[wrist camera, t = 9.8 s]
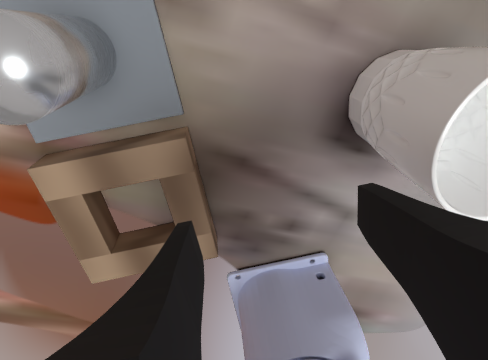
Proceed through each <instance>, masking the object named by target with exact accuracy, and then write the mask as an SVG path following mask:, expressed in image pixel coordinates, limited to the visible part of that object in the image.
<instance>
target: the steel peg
mask: <svg viewBox="0 0 488 360" xmlns="http://www.w3.org/2000/svg"><path fill="white" fill-rule="evenodd" d="M115 68H116V53H115V49H114V46H113V44H112V42H111V40H110V39H109V37H108V36H107V34H106V33H105V32H104V31H103V30H102V29H101V28H100V27H99V26H97V25H96V24H95V23H93V22H91V21H89V20H87V19H84V18H81V17H75V16H66V15H56V14H46V13H36V12H27V11H17V10H7V9H0V124H6V125H23V124H28V123H31V122H34V121H36V120H38V119H40V118H42V117H44V116H46V115H48V114H50V113H52V112H53V111H55V110H57V109H59V108H61V107H63V106H65V105H67V104H69V103H70V102H72V101H74V100H76V99H78V98H80V97H82V96H84V95H86V94H87V93H89V92H91V91H93V90H95V89H97V88H99V87H101V86H102V85H104V84H106V83H107V82H108V81H109V80H110V79H111V77H112V76H113V74H114V72H115Z"/></svg>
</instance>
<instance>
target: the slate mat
mask: <svg viewBox="0 0 488 360" xmlns="http://www.w3.org/2000/svg"><path fill="white" fill-rule="evenodd" d="M0 9H7V10H17V11H27V12H36V13H46V14H56V15H66V16H75V17H81V18H84V19H87V20H89V21H91V22H93V23H95V24H96V25H97V26H99V27H100V28H101V29H102V30H103V31H104V32H105V33H106V34H107V36H108V37H109V39H110V40H111V42H112V44H113V46H114V49H115V53H116V68H115V72H114V74H113V76H112V77H111V79H110V80H109V81H108V82H107V83H106V84H104V85H102V86H101V87H99V88H97V89H95V90H93V91H91V92H89V93H87V94H86V95H84V96H82V97H80V98H78V99H76V100H74V101H72V102H70V103H69V104H67V105H65V106H63V107H61V108H59V109H57V110H55V111H53V112H52V113H50V114H48V115H46V116H44V117H42V118H40V119H38V120H36V121H34V122H31V123H28V124H26V125H27V126H28V128H29V130H30V132H31V134H32V136H33V138H34V140H35V142H36V143H40V142H45V141H50V140H55V139H60V138H65V137H70V136H75V135H81V134H86V133H91V132H96V131H101V130H106V129H111V128H116V127H121V126H126V125H131V124H136V123H141V122H146V121H151V120H157V119H162V118H167V117H172V116H177V115H182V114H184V112H183V108H182V104H181V100H180V96H179V93H178V89H177V85H176V81H175V78H174V74H173V70H172V66H171V63H170V59H169V55H168V51H167V48H166V44H165V40H164V36H163V33H162V29H161V25H160V21H159V18H158V14H157V10H156V6H155V2H154V0H0Z"/></svg>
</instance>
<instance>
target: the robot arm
mask: <svg viewBox="0 0 488 360" xmlns="http://www.w3.org/2000/svg"><path fill="white" fill-rule="evenodd" d="M357 225H358V226H359V228H360V230H361V232H362V234H363V235H364V237H365V239H366V240H367V242H368V244H369V245H370V246H371V248H372V249H373V250H374V252H375V253H376V254H377V256H378V257H379V258H380V259H381V261H382V262H383V263H384V265H385V266H386V267H387V268H388V270H389V271H390V272H391V273H392V275H393V276H394V277H395V279H396V280H397V281H398V282H399V284H400V285H401V286H402V288H403V289H404V290H405V292H406V293H407V295H408V296H409V298H410V299H411V301H412V303H413V304H414V306H415V307H416V309H417V311H418V312H419V314H420V315H421V317H422V319H423V320H424V322H425V324H426V325H427V327H428V329H429V330H430V332H431V333H432V335H433V337H434V339H435V340H436V342H437V344H438V346H439V348H440V349H441V351H442V353H443V355H444V357H445V358H446V360H488V221H483V220H479V219H475V218H472V217H468V216H464V215H460V214H457V213H454V212H450V211H447V210H444V209H441V208H438V207H435V206H432V205H429V204H426V203H424V202H421V201H418V200H416V199H413V198H411V197H408V196H405V195H403V194H400V193H398V192H395V191H393V190H390V189H388V188H385V187H383V186H380V185H377V184H374V183H369V184H364V185H359V186H358V224H357ZM312 259H313V260H312ZM310 260H312V261H310ZM237 275H239V276H237ZM227 280H228V284H229V287H230V291H231V295H232V298H233V302H234V306H235V309H236V313H237V317H238V321H239V324H240V328H241V331H242V339H243V348H244V356H245V360H370V357H369V351H368V347H367V343H366V340H365V337H364V334H363V331H362V329H361V326H360V324H359V321H358V319H357V317H356V314H355V312H354V310H353V309H352V307H351V305H350V303H349V301H348V299H347V297H346V295H345V293H344V292H343V290H342V288H341V286H340V284H339V282H338V280H337V278H336V277H335V275H334V273H333V271H332V269H331V267H330V265H329V263H328V256H327V255H326V254H325V253H318V254H313V255H309V256H304V257H299V258H295V259H290V260H285V261H280V262H276V263H271V264H266V265H262V266H257V267H252V268H248V269H243V270H238V271H234V272H230V273H229V274H228V275H227ZM203 292H204V264H203V256H202V252H201V249H200V246H199V242H198V239H197V236H196V233H195V229H194V226H193V223H192V220H191V221H186V222H181V223H177V225H176V226H175V228H174V229H173V231H172V232H171V234H170V236H169V237H168V239H167V240H166V242H165V243H164V245H163V246H162V248H161V249H160V251H159V252H158V254H157V255H156V257H155V258H154V260H153V261H152V262H151V264H150V265H149V266H148V268H147V269H146V270H145V272H144V273H143V274H142V275H141V277H140V278H139V279H138V280H137V281H136V282H135V284H134V285H133V286H132V287H131V288H130V289H129V290H128V291H127V292H126V293H125V294H124V296H122V297H121V298H120V299H119V300H118V301H117V302H116V303H115V304H114V305H113V306H112V307H111V308H110V309H109V310H108V311H107V312H106V313H105V314H104V315H102V316H101V317H100V318H99V319H98V320H97V321H95V322H94V323H93V324H92V325H91V326H89V327H88V328H87V329H86V330H85V331H83V332H82V333H81V334H80V335H78V336H77V337H76V338H74V339H73V340H72V341H71V342H69V343H68V344H66V345H65V346H63V347H62V348H61V349H59V350H58V351H57V352H55V353H54V354H52V355H51V356H50V357H49V358H47V359H45V360H201V321H202V307H203Z"/></svg>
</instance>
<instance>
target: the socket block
mask: <svg viewBox="0 0 488 360" xmlns="http://www.w3.org/2000/svg"><path fill="white" fill-rule="evenodd" d="M27 170H28V172H29V174H30V176H31V177H32V179H33V181H34V183H35V185H36V186H37V188H38V190H39V192H40V193H41V195H42V197H43V199H44V200H45V202H46V204H47V206H48V207H49V209H50V211H51V213H52V214H53V216H54V218H55V220H56V221H57V223H58V225H59V227H60V228H61V230H62V232H63V234H64V235H65V237H66V239H67V241H68V242H69V244H70V246H71V248H72V249H73V251H74V253H75V255H76V256H77V258H78V260H79V262H80V264H81V265H82V267H83V269H84V271H85V272H86V274H87V276H88V278H89V279H90V281H91V283H92V284H93V283H97V282H102V281H107V280H112V279H116V278H121V277H126V276H131V275H135V274H140V273H144V272H145V270H146V269H147V268H148V266H149V265H150V264H151V262H152V261H153V260H154V258H155V257H156V255H157V254H158V252H159V251H160V249H161V248H162V246H163V245H164V243H165V242H166V240H167V239H168V237H169V236H170V234H171V232H172V231H173V229H174V228H175V226H176V225H177V223H181V222H186V221H191V220H192V223H193V226H194V229H195V233H196V236H197V239H198V242H199V246H200V249H201V252H202V256H203V260H206V259H211V258H215V257H218V247H217V236H216V232H215V228H214V224H213V221H212V217H211V213H210V209H209V205H208V202H207V198H206V194H205V190H204V187H203V183H202V179H201V175H200V172H199V168H198V164H197V160H196V157H195V153H194V149H193V145H192V142H191V138H190V134H189V130H188V127H183V128H178V129H173V130H168V131H163V132H158V133H153V134H148V135H143V136H138V137H133V138H128V139H123V140H117V141H112V142H107V143H102V144H97V145H92V146H87V147H82V148H77V149H72V150H67V151H62V152H57V153H52V154H47V155H45V156H44V157H43V158H41V159H40V160H39V161H37V162H36V163H35V164H33V165H32V166H31V167H30V168H28V169H27ZM155 179H159V180H160V183H161V186H162V189H163V191H164V194H165V197H166V200H167V203H168V206H169V209H170V212H171V215H172V218H173V221H174V222H173V223H168V224H163V225H158V226H153V227H149V228H144V229H139V230H134V231H130V232H125V233H119V231H118V229H117V226H116V224H115V222H114V220H113V218H112V216H111V213H110V211H109V209H108V207H107V205H106V202H105V200H104V198H103V196H102V194H101V190H106V189H111V188H116V187H121V186H126V185H131V184H136V183H141V182H146V181H150V180H155Z"/></svg>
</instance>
